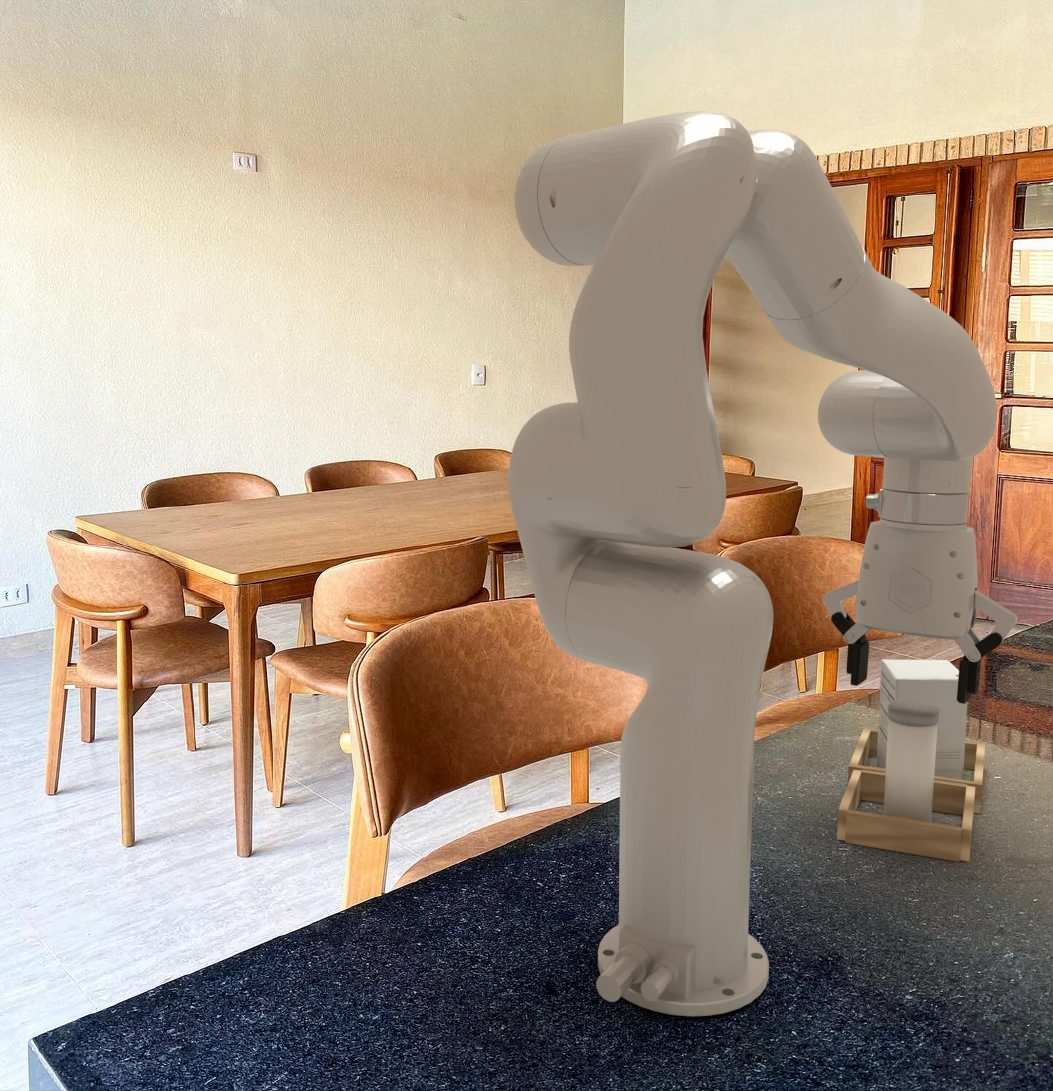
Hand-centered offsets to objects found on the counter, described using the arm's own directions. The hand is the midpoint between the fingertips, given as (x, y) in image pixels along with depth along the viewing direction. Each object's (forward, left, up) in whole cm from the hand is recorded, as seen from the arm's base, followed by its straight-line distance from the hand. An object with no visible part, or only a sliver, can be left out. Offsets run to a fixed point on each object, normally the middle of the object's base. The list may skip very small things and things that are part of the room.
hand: (909, 691), depth 102 cm
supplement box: (+13, +2, -14) cm, 19 cm away
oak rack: (+7, +1, -14) cm, 15 cm away
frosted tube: (+1, 0, -14) cm, 14 cm away
